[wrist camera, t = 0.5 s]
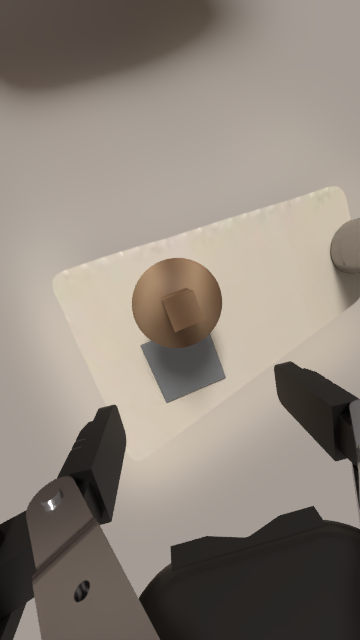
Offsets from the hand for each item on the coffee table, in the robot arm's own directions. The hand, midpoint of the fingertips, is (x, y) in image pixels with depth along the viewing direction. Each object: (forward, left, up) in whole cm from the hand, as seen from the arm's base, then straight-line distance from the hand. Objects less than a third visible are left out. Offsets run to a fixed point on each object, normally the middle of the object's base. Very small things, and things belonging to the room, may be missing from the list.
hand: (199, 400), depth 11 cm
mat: (0, +10, -27) cm, 29 cm away
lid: (-2, -2, -17) cm, 17 cm away
